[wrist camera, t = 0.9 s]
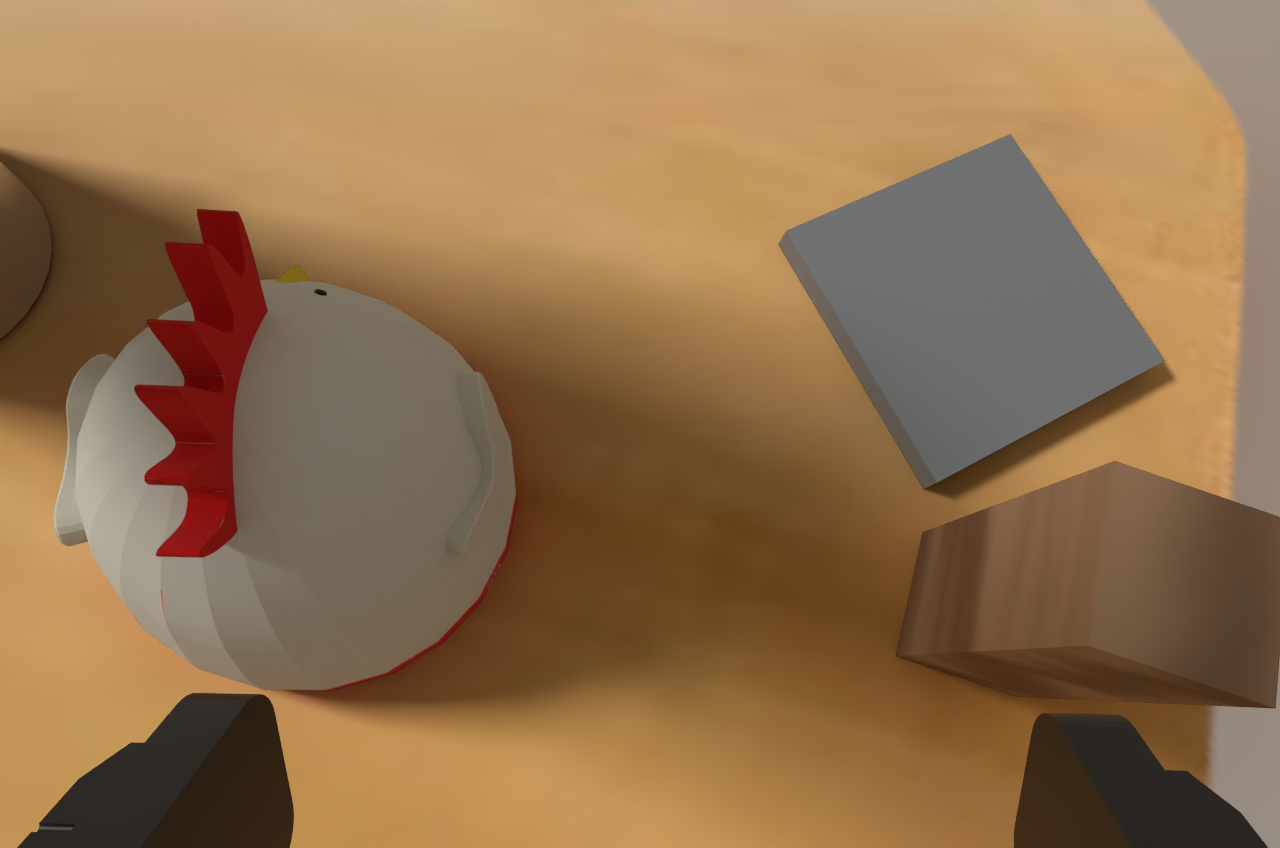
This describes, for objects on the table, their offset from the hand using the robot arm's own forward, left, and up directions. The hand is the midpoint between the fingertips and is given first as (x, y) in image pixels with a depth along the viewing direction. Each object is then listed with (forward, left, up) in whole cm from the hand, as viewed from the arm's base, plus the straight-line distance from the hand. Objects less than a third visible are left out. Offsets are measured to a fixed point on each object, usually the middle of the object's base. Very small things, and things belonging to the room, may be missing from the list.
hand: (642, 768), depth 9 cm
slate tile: (-7, +22, -23) cm, 33 cm away
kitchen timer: (-11, -5, -23) cm, 26 cm away
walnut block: (+4, +15, -23) cm, 28 cm away
